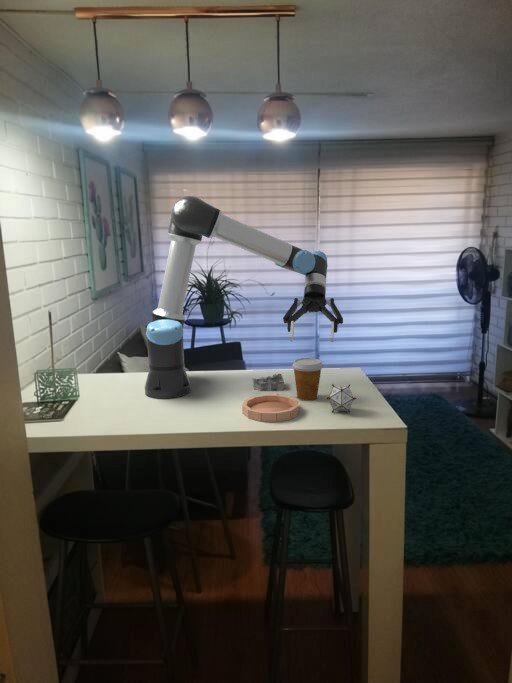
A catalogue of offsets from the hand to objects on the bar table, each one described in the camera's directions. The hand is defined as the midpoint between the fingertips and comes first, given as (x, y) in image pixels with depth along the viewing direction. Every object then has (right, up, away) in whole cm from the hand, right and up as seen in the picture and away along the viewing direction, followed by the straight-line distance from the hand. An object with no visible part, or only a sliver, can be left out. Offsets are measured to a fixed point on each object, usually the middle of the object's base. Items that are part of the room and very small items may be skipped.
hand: (311, 339), depth 169 cm
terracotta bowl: (-14, -21, -19) cm, 32 cm away
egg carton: (-14, -17, +5) cm, 22 cm away
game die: (+6, -21, -19) cm, 29 cm away
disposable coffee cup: (-2, -19, -7) cm, 20 cm away
